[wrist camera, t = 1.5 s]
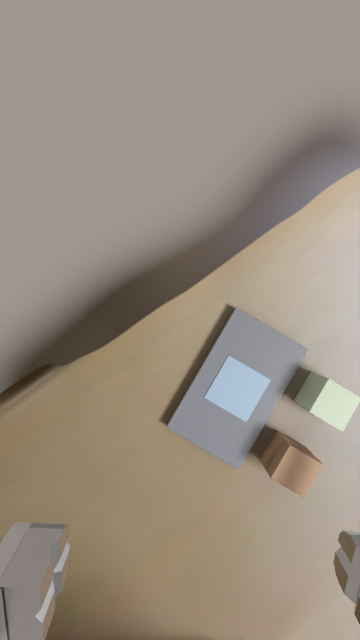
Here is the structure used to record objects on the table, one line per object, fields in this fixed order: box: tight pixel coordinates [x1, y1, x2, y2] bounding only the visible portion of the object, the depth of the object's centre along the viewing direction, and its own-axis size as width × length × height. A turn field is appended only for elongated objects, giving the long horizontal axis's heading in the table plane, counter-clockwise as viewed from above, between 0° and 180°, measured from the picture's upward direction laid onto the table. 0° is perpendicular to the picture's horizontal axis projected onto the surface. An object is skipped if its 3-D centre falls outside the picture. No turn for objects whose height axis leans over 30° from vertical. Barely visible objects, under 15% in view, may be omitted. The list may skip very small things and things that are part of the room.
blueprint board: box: [166, 308, 308, 470], centre depth 40 cm, size 12×20×1 cm, turn 150°
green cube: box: [294, 372, 360, 431], centre depth 38 cm, size 5×5×5 cm
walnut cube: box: [260, 430, 323, 498], centre depth 38 cm, size 5×5×5 cm
